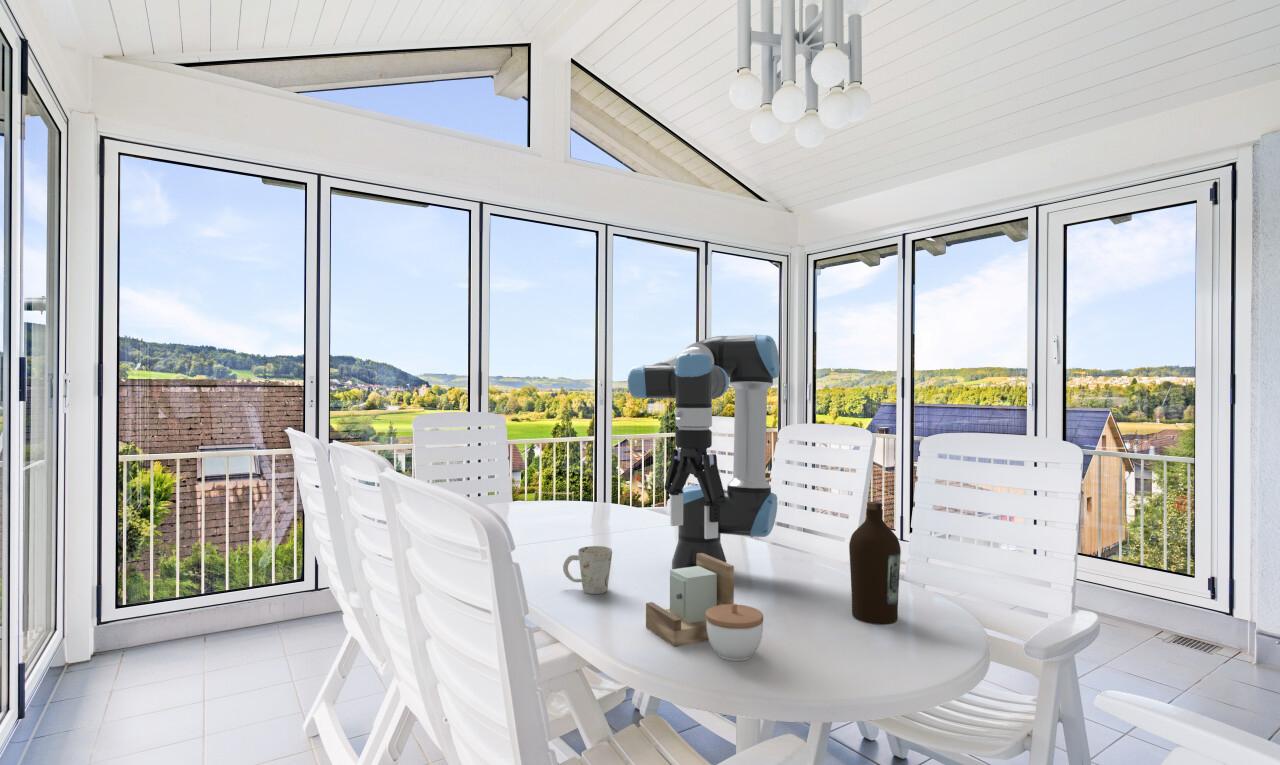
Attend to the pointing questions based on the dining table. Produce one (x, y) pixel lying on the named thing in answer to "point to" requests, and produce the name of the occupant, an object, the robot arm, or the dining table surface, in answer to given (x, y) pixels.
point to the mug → (592, 568)
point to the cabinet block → (692, 593)
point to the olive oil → (874, 569)
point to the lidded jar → (734, 630)
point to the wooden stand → (694, 632)
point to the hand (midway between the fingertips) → (693, 531)
